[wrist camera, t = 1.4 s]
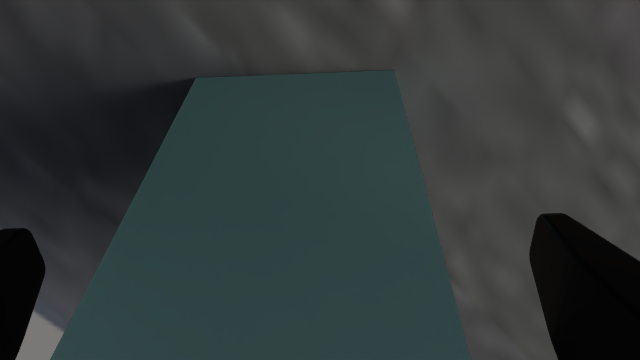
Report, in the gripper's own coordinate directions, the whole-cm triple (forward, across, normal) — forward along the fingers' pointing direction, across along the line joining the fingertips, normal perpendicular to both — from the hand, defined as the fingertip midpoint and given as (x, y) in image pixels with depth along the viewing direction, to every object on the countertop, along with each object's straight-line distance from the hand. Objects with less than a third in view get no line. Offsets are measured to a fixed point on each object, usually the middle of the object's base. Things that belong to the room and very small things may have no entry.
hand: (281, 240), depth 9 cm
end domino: (+5, 0, 0) cm, 5 cm away
